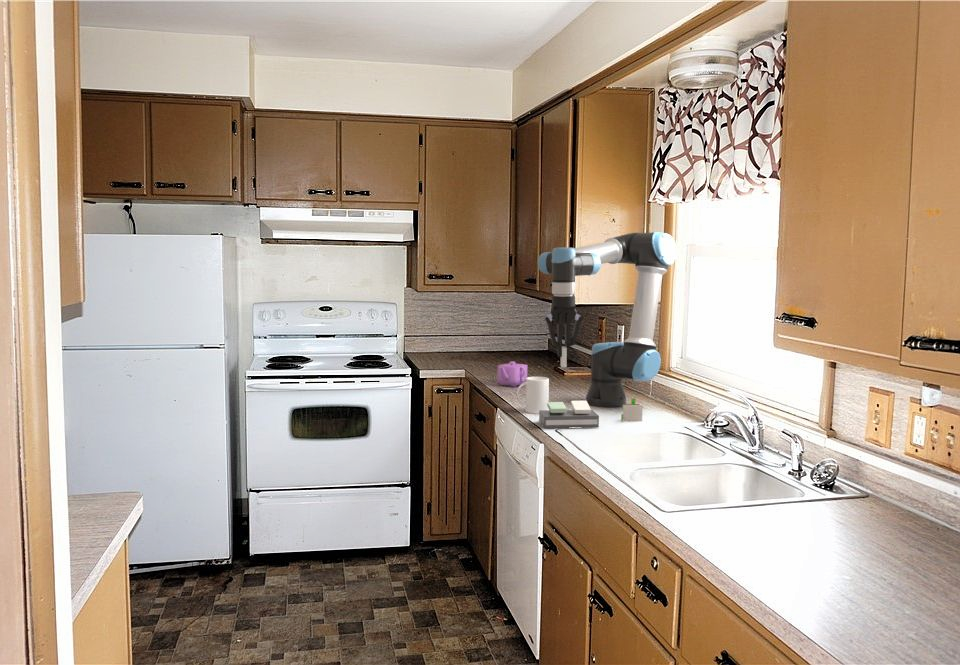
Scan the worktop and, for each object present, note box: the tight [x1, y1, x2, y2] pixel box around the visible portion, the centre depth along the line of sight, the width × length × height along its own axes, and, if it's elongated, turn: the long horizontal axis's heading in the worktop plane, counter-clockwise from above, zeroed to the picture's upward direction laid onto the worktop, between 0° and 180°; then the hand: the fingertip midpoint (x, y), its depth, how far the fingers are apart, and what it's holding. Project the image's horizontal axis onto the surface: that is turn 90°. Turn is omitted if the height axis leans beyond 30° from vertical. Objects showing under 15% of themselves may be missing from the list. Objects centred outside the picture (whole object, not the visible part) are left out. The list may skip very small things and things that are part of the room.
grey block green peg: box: [620, 397, 644, 422], centre depth 276 cm, size 4×7×8 cm, turn 102°
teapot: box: [496, 360, 528, 388], centre depth 342 cm, size 18×14×10 cm
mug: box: [516, 376, 550, 415], centre depth 289 cm, size 12×8×12 cm
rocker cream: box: [570, 400, 592, 414], centre depth 268 cm, size 5×7×1 cm
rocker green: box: [547, 401, 568, 413], centre depth 267 cm, size 5×7×1 cm
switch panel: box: [538, 409, 600, 430], centre depth 268 cm, size 18×10×5 cm, turn 95°
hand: (563, 366), depth 266 cm, fingers closed
